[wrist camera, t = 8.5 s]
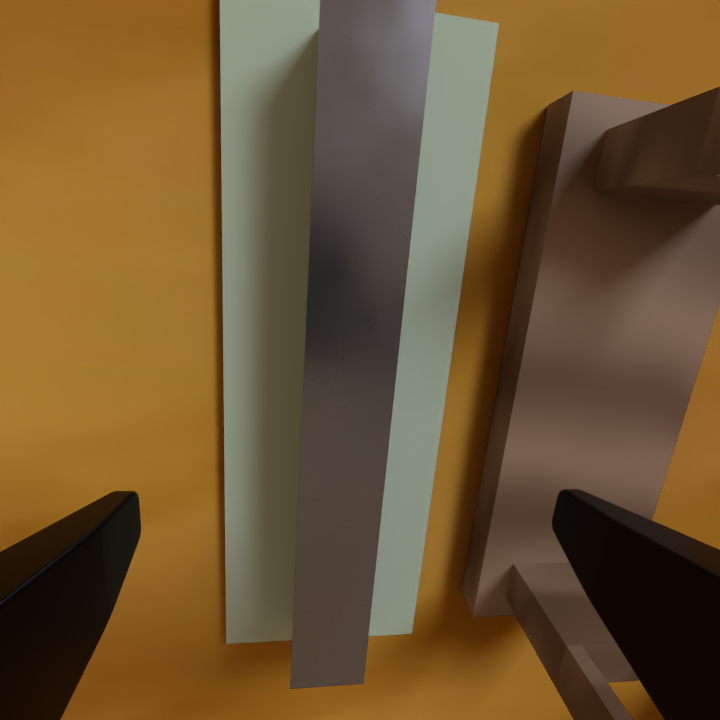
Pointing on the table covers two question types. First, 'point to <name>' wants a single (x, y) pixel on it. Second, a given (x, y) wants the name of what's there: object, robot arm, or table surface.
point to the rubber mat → (289, 298)
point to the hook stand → (596, 361)
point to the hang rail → (354, 317)
